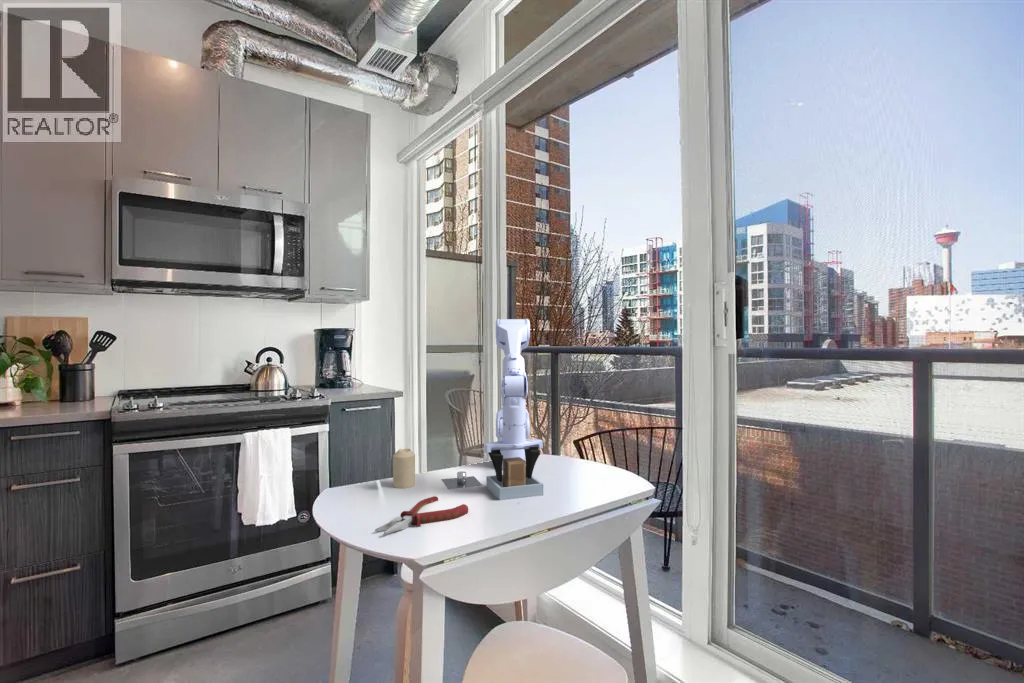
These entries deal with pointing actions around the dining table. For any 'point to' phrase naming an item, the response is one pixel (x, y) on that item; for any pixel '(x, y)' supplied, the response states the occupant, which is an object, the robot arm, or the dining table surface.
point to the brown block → (514, 472)
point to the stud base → (455, 485)
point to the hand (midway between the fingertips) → (514, 479)
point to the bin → (514, 488)
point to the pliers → (423, 516)
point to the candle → (404, 469)
